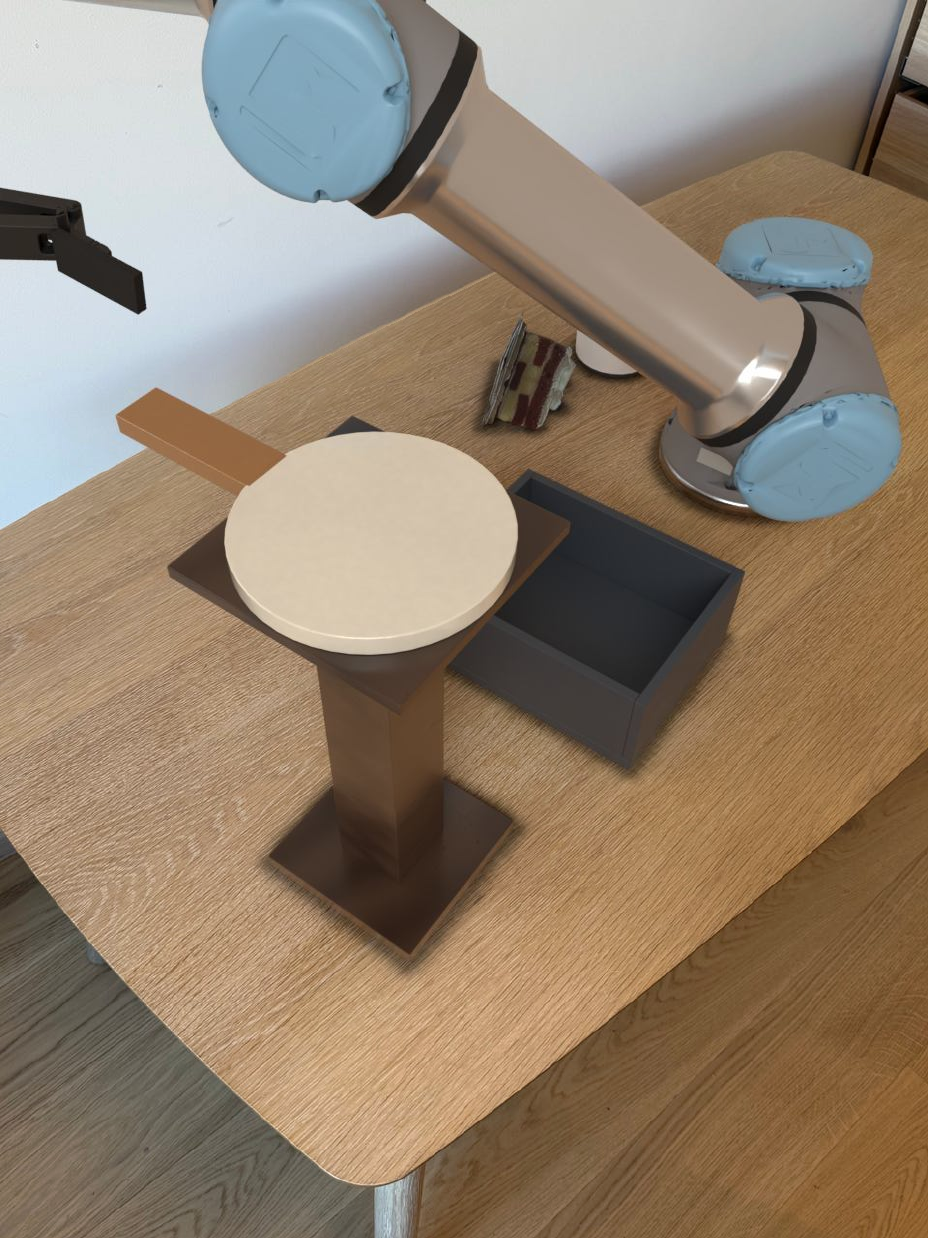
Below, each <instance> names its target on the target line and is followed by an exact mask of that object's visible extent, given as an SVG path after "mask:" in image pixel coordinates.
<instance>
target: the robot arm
mask: <svg viewBox="0 0 928 1238" xmlns="http://www.w3.org/2000/svg"><path fill="white" fill-rule="evenodd" d="M63 1H66V2H73V3H80V4H81V3H82V4H89V5H97V6H106V7H115V8H123V9H130V10H131V9H132V10H140V11H148V12H157V13H165V14H173V15H183V16H190V17H199V18H202V19H204V20H205V21H206V22H207V24H208V27H207V31H206V36H205V38H204V43H203V49H202V56H201V84H202V91H203V95H204V96H203V97H204V101H205V104H206V106H207V110H208V114H209V118H210V120H211V122H212V125H213V127H214V129H215V131H216V134H217V135H218V137H219V139H220V140H221V143H222V144H223V146H224V147H225V148H226V150H227V151H228V152H229V155H231V157H233V159H234V161H236V162H237V163H238V165H240V167H242V169H244V171H245V172H247V173H248V174H249V175H250V176H251V177H252V178H254V179H255V180H256V181H258V182H259V183H260V184H262V185H263V186H265V187H266V188H268V189H269V190H271V191H273V192H275V193H277V194H279V195H281V196H284V197H287V198H289V199H291V200H294V201H299V202H303V203H310V204H316V203H318V202H319V201H330V202H332V203H341V202H345V201H347V202H349V203H350V204H352V205H354V206H355V207H356V208H358V209H359V210H360V211H362V212H363V213H365V214H367V215H368V216H369V217H371V218H373V219H374V220H380V219H384V218H388V217H393V216H397V215H402V214H407V215H408V214H410V215H413V216H414V217H415V218H417V219H418V220H420V221H421V222H422V223H424V224H426V225H427V226H428V227H430V228H431V229H433V230H434V231H436V232H437V233H438V234H440V235H442V236H443V237H444V238H445V239H447V240H448V241H449V242H451V243H453V244H454V245H456V246H457V247H458V248H460V249H461V250H463V251H464V252H466V253H467V254H468V255H470V256H471V257H473V258H474V259H476V260H477V261H478V262H480V263H481V264H483V265H484V266H486V267H487V268H489V269H490V270H491V271H493V272H494V273H496V274H497V275H499V276H500V277H501V278H503V279H504V280H506V281H507V282H509V284H511V285H513V286H514V287H515V288H517V289H519V290H520V291H521V292H523V294H525V295H527V296H529V297H530V298H531V299H533V300H534V301H536V302H537V303H538V304H540V305H541V306H543V307H544V308H546V309H547V310H548V311H550V312H551V313H553V314H554V315H556V316H557V317H559V318H560V319H561V320H563V321H564V322H566V323H567V324H568V325H570V326H571V327H573V328H574V329H576V331H577V330H579V331H580V332H581V333H583V334H584V335H586V336H587V337H589V338H590V339H591V340H593V341H594V342H596V343H597V344H599V345H600V346H601V347H603V348H604V349H606V350H607V351H609V352H610V353H611V354H613V355H614V356H616V357H617V358H619V359H620V360H621V361H623V362H624V363H626V364H627V365H629V366H630V367H631V368H633V369H634V370H636V371H637V372H639V373H640V374H639V375H641V376H643V377H645V378H646V379H647V380H648V381H650V382H652V384H654V385H656V386H657V387H658V388H659V389H661V390H663V391H664V392H666V393H667V394H668V395H670V396H672V398H674V399H676V401H677V402H676V407H675V408H674V409H673V410H672V412H671V414H670V415H669V417H667V419H666V421H665V424H664V426H663V429H662V431H661V435H660V440H659V446H658V459H659V463H660V467H661V469H662V471H663V473H664V474H665V476H666V478H667V479H668V480H669V482H670V483H671V484H672V485H673V486H674V487H675V488H676V489H677V491H679V492H680V493H682V494H683V495H684V496H686V497H687V498H689V499H690V500H692V501H694V502H695V503H697V504H699V505H701V506H704V507H706V508H708V509H711V510H714V511H717V512H721V513H723V514H728V515H731V516H732V515H733V516H740V517H748V518H749V517H753V518H757V517H758V518H760V517H761V518H763V517H765V518H767V519H771V520H773V521H779V522H786V523H787V522H788V523H804V522H807V521H812V520H813V519H821V520H823V519H826V518H830V517H833V516H836V515H839V514H842V513H844V512H846V511H848V510H851V509H853V508H854V507H856V506H858V505H860V504H861V503H863V502H865V501H866V500H868V499H869V498H870V497H872V496H873V495H874V494H875V493H877V492H878V491H879V490H880V489H881V488H882V487H883V486H885V484H886V483H887V481H888V480H889V479H890V477H891V476H892V475H893V473H894V472H895V470H896V468H897V466H898V463H899V458H900V456H901V452H902V447H903V439H902V433H901V429H900V417H899V411H898V407H897V406H896V404H895V403H894V402H893V400H892V396H891V393H890V390H889V388H888V384H887V382H886V378H885V375H884V372H883V369H882V366H881V363H880V361H879V357H878V355H877V352H876V349H875V346H874V343H873V339H872V337H871V334H870V332H869V330H868V326H867V324H866V320H865V318H864V317H865V316H864V314H863V310H862V304H863V297H864V293H865V290H866V288H867V286H868V284H869V283H870V282H871V280H872V278H873V277H872V273H871V272H872V267H873V263H874V255H873V252H872V250H871V248H870V246H869V245H868V244H867V242H866V241H865V240H864V239H862V238H861V237H860V236H859V235H857V234H855V233H853V231H850V230H848V229H846V228H844V227H842V226H839V225H835V224H832V223H830V222H826V221H824V220H823V221H822V220H818V219H813V218H806V217H797V216H771V217H763V218H758V219H754V220H751V221H749V222H746V223H743V224H741V225H739V226H737V227H736V228H734V229H733V230H732V231H730V233H729V234H728V235H727V236H726V239H725V240H724V242H723V246H722V248H721V252H720V256H719V258H718V260H717V261H716V263H715V265H714V264H713V263H712V262H710V261H709V260H708V259H707V258H705V257H703V256H702V255H701V254H700V253H699V252H697V251H696V250H695V249H694V248H693V247H691V246H690V245H688V244H687V243H686V242H684V240H682V239H681V238H680V237H678V236H677V235H676V234H674V233H673V232H672V231H671V230H670V229H668V228H667V227H666V226H665V225H663V224H662V223H660V222H659V221H658V220H657V219H655V218H654V217H653V216H652V215H650V214H649V213H648V212H646V211H645V210H644V209H642V208H641V207H640V206H639V205H638V204H636V203H635V201H632V200H631V199H630V198H629V197H627V196H626V195H625V194H624V193H622V192H621V191H620V190H619V189H618V188H617V187H615V186H613V185H612V184H611V183H609V182H608V181H607V180H606V179H604V177H602V176H601V175H599V173H597V172H596V171H594V170H593V169H592V168H591V167H589V166H588V165H587V164H586V163H584V162H583V161H581V160H580V159H579V158H578V157H576V155H574V154H573V153H571V152H570V151H569V150H568V149H567V148H565V147H564V146H562V145H561V144H560V143H559V142H558V141H556V140H555V139H554V138H552V137H551V136H550V135H548V134H547V133H546V132H545V131H543V130H542V129H541V128H539V127H538V126H537V125H536V124H535V123H533V121H530V120H529V119H528V118H527V117H526V116H525V115H523V114H522V113H520V111H518V110H517V109H516V108H515V107H513V106H512V105H510V104H509V103H508V102H507V101H505V100H504V99H503V98H501V97H500V96H499V95H498V94H496V93H495V92H494V91H492V90H491V89H490V88H489V85H488V82H487V77H486V71H485V65H484V63H485V62H484V57H483V50H482V47H481V46H480V45H479V44H477V42H476V41H474V40H473V39H472V38H471V37H469V36H468V35H467V34H466V33H465V32H463V31H462V30H461V29H460V28H458V26H456V25H454V24H453V23H452V22H451V21H449V19H447V18H446V17H445V16H443V15H442V14H441V13H440V12H438V11H437V10H436V9H434V8H433V7H432V6H431V5H430V4H428V3H427V0H63ZM1 260H2V261H4V260H5V261H45V262H46V261H47V262H48V261H50V262H55V263H56V268H57V272H59V273H61V274H62V275H64V276H66V277H68V278H70V279H72V280H74V281H75V282H77V283H79V284H80V285H82V286H85V287H86V288H88V289H90V290H92V291H94V292H95V293H98V294H99V295H101V296H103V297H104V298H107V299H108V300H111V301H112V302H114V303H116V304H118V305H119V306H121V307H123V308H124V309H127V310H128V311H130V312H132V313H134V314H136V315H137V316H139V315H140V314H142V313H143V312H144V311H146V310H148V309H147V300H146V293H145V283H144V275H143V271H142V270H140V269H138V268H136V267H134V266H132V265H131V264H128V263H126V262H125V261H123V260H121V259H119V258H117V257H115V256H113V252H112V250H111V249H110V247H109V246H108V245H106V244H104V243H102V242H100V241H98V240H96V239H94V238H93V237H91V236H89V235H87V230H86V224H85V217H84V212H83V206H82V202H80V201H78V200H75V199H71V198H64V197H59V196H53V195H47V194H41V193H36V192H29V191H23V190H17V189H10V188H5V187H0V261H1Z"/></svg>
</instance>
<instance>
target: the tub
mask: <svg viewBox="0 0 928 1238" xmlns="http://www.w3.org/2000/svg"><path fill="white" fill-rule="evenodd" d="M505 490H506V491H508V492H510V493H512V494H514V495H516V496H518V497H521V498H523V499H525V500H527V501H529V502H531V503H533V504H535V505H537V506H539V507H541V508H543V509H545V510H547V511H549V512H551V513H553V514H555V515H557V516H560V517H562V518H564V519H566V520H568V521H570V531H569V533H568V535H567V536H566V537H565V538H564V539H563V540H562V541H561V542H560V543H559V544H558V545H557V547H556V548H555V549H554V550H553V551H552V552H551V553H550V554H549V555H548V556H547V557H546V559H545V560H544V561H543V562H542V563H541V564H540V565H539V566H538V567H537V568H536V569H535V571H534V572H533V573H532V574H531V575H530V576H529V577H528V578H527V579H526V580H525V581H524V583H523V584H522V585H521V586H520V587H519V588H518V589H517V590H516V591H515V592H514V593H513V595H512V596H511V597H510V598H509V599H508V600H507V601H506V602H505V603H504V604H503V605H502V606H501V608H500V609H499V610H498V611H497V612H496V613H495V614H494V615H493V616H492V617H491V618H490V620H489V621H488V622H487V623H486V624H485V625H484V626H483V627H482V628H481V629H480V630H479V632H478V633H477V634H476V635H475V636H474V637H473V638H472V639H471V640H470V641H469V642H468V644H467V645H466V646H465V647H464V648H463V649H462V650H461V651H460V652H459V653H458V654H457V656H456V657H455V658H454V659H453V660H452V661H451V662H450V663H449V664H448V665H447V666H446V668H449V669H450V670H452V671H454V672H456V673H457V674H459V675H461V676H463V677H464V678H465V679H468V680H469V681H472V682H473V683H475V684H477V685H479V686H480V687H482V688H483V689H485V690H487V691H489V692H491V693H493V694H494V695H496V696H498V697H500V698H501V699H503V700H505V701H506V702H508V703H510V704H512V705H514V706H516V707H517V708H519V709H520V710H522V711H523V712H525V713H527V714H528V715H531V716H532V717H534V718H536V719H537V720H540V721H542V722H543V723H545V724H546V725H549V726H550V727H552V728H554V729H555V730H557V731H559V732H561V733H562V734H563V735H566V736H568V737H569V738H571V739H572V740H574V741H577V742H578V743H580V744H582V745H584V746H585V747H587V748H588V749H590V750H592V751H594V752H595V753H597V754H599V755H601V756H602V757H604V758H606V759H608V760H610V761H611V762H613V763H615V764H617V765H618V766H620V767H622V768H623V769H625V770H627V771H631V770H632V768H633V766H635V764H636V762H637V761H638V759H640V758H641V756H642V754H643V753H644V751H645V750H646V749H647V747H648V746H649V744H650V743H651V742H652V740H653V739H654V737H655V736H656V735H657V733H658V732H659V731H660V730H661V728H662V726H663V725H664V723H665V722H666V721H667V719H669V716H670V715H671V714H672V712H673V711H674V710H675V708H676V707H677V705H678V704H679V703H680V701H681V700H682V699H683V697H684V696H685V695H686V693H687V692H688V691H689V689H690V687H691V686H692V684H693V683H694V682H695V681H696V679H697V678H698V676H699V675H700V674H701V672H702V671H703V669H704V668H705V666H707V664H708V663H709V661H710V660H711V658H712V657H713V656H714V655H715V653H716V651H717V650H718V649H719V647H720V646H721V644H722V643H723V642H724V640H725V638H726V635H727V632H728V629H729V625H730V623H731V619H732V616H733V612H734V609H735V607H736V603H737V601H738V597H739V594H740V590H741V587H742V584H743V581H744V577H745V575H746V570H743V569H741V568H739V567H736V566H735V565H733V564H731V563H729V562H726V561H724V560H722V559H720V558H719V557H716V556H714V555H712V554H710V553H707V552H705V551H704V550H701V549H700V548H697V547H695V546H692V545H690V544H688V543H687V542H684V541H682V540H680V539H679V538H675V537H674V536H673V535H672V536H671V535H670V534H668V533H666V532H663V531H661V530H659V529H657V528H655V527H653V526H650V525H648V524H647V523H644V522H642V521H641V520H638V519H637V518H633V517H632V516H630V515H627V514H626V513H624V512H622V511H620V510H617V509H615V508H613V507H610V506H608V505H607V504H604V503H603V502H600V501H598V500H596V499H594V498H591V497H589V496H588V495H585V494H583V493H581V492H579V491H577V490H575V489H573V488H571V487H568V486H566V485H564V484H562V483H560V482H558V481H556V480H553V479H552V478H549V477H548V476H545V475H543V474H541V473H539V472H536V471H534V470H533V469H531V468H527V469H526V470H525V471H524V472H523V473H522V474H520V476H519V477H518V478H517V479H516V480H515V481H514V482H512V484H511V485H510V486H509V487H508V488H506V489H505Z"/></svg>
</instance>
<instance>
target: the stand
mask: <svg viewBox="0 0 928 1238" xmlns="http://www.w3.org/2000/svg"><path fill="white" fill-rule="evenodd" d="M358 432H386V431H385V430H383V429H381V428H379V427H377V426H375V425H373V424H371V423H369V422H367V421H365V420H362V419H361V418H358V417H357V416H355V415H350V416H349V417H348V418H347V419H345V420H344V421H343V422H342V423H341V424H339V425H338V426H337V427H336V428H335V429H333V430H332V431H331V432H330V433H329V434H327V435H326V436H325V437H324V438H328V437H333V436H337V435H343V434H350V433H358ZM506 490H507V489H505V491H506ZM506 492H507V494H508V496H509V497H510V499H511V502H512V504H513V507H514V509H515V512H516V518H517V523H518V545H517V555H516V561H515V567H514V569H513V572H512V575H511V578H510V580H509V582H508V584H507V586H506V587H505V589H504V591H503V593H502V594H501V595H500V597H499V598H498V599H497V600H496V602H495V603H494V604H493V605H492V607H490V608H489V609H488V610H487V611H486V612H485V613H484V614H483V615H482V616H481V617H480V618H479V619H477V620H476V621H474V622H473V623H472V624H470V625H469V626H467V627H466V628H464V629H463V630H461V631H459V632H457V633H455V634H454V635H452V636H450V637H448V638H445V639H443V640H440V641H438V642H435V643H433V644H430V645H427V646H423V647H420V648H416V649H413V650H408V651H402V652H397V653H390V654H376V655H359V654H345V653H338V652H330V651H326V650H322V649H318V648H314V647H311V646H308V645H305V644H302V643H300V642H297V641H294V640H292V639H290V638H288V637H286V636H284V635H283V634H281V633H279V632H277V631H275V630H274V629H273V628H271V627H270V626H268V625H267V624H265V623H264V622H263V621H262V620H260V619H259V618H258V617H257V616H256V615H255V614H254V613H253V612H252V611H251V610H250V609H249V608H248V606H247V605H246V604H245V603H244V601H243V600H242V599H241V597H240V595H239V594H238V592H237V590H236V588H235V586H234V584H233V581H232V578H231V575H230V572H229V568H228V563H227V558H226V552H225V545H224V539H225V527H226V523H227V519H228V516H227V517H225V518H224V519H223V520H221V522H219V523H218V524H217V525H215V526H214V527H213V528H212V529H211V530H209V531H208V532H207V533H206V534H205V535H204V536H202V537H201V538H200V539H199V540H197V541H196V542H195V543H193V544H192V545H191V546H190V547H188V548H187V549H186V550H185V551H184V552H182V554H180V555H179V556H177V557H176V558H175V559H174V560H173V561H172V562H171V563H169V564H167V566H166V569H167V572H168V575H169V578H170V579H172V580H174V581H175V582H177V583H179V584H180V585H181V586H183V587H185V588H187V589H189V590H191V591H192V592H194V593H195V594H197V595H198V596H200V597H202V598H203V599H205V600H206V601H209V602H210V603H212V604H213V605H215V606H216V607H218V608H219V609H222V610H223V611H225V612H226V613H228V614H230V615H232V616H234V617H235V618H237V619H238V620H240V621H241V622H243V623H245V624H247V625H248V626H250V627H252V628H253V629H254V630H256V631H258V632H260V633H262V634H263V635H265V636H266V637H268V638H270V639H272V641H275V642H276V643H278V644H280V645H281V646H283V647H285V648H286V649H288V650H290V651H291V652H293V653H295V654H296V655H298V656H300V657H301V658H303V659H305V660H306V661H308V662H309V663H311V664H313V665H314V666H316V671H317V679H318V687H319V693H320V694H319V695H320V700H321V701H320V702H321V707H322V708H321V709H322V715H323V723H324V729H325V736H326V737H325V738H326V743H327V753H328V759H329V764H330V765H329V767H330V773H331V781H332V786H331V788H329V789H328V791H326V793H325V794H324V795H323V796H322V797H321V798H320V799H319V801H317V803H315V805H314V806H313V807H312V808H311V809H310V810H309V811H308V812H307V813H306V814H305V816H304V817H303V818H302V819H301V820H300V821H299V822H298V823H297V824H296V825H295V826H294V828H293V829H291V831H290V832H289V833H288V834H287V835H286V837H284V839H282V841H281V842H280V843H279V844H278V845H277V846H276V847H275V848H274V849H273V850H272V851H271V853H269V855H268V860H269V864H270V866H272V867H273V868H275V869H276V870H278V871H279V872H281V874H283V875H284V876H286V877H288V878H289V879H291V880H292V881H293V882H295V883H296V884H297V885H299V886H300V887H302V889H304V890H306V891H308V892H309V893H311V894H312V895H313V896H314V897H316V898H317V899H319V900H320V901H321V902H323V903H325V904H326V905H327V906H328V907H330V908H331V909H333V910H334V911H336V912H337V913H339V914H340V915H341V916H343V917H344V918H346V919H347V920H349V922H351V923H353V924H355V926H357V927H359V928H360V929H362V930H363V931H365V932H366V933H367V934H369V935H370V936H371V937H372V938H374V939H376V940H377V941H379V942H380V943H381V944H383V945H384V946H386V947H387V948H389V949H390V950H392V951H393V952H394V953H396V954H397V955H399V956H400V957H401V958H403V959H404V960H405V961H407V962H409V963H411V962H412V961H413V959H414V958H415V957H416V956H417V954H418V953H419V952H420V951H421V949H422V948H423V947H424V945H425V944H426V942H427V941H428V940H429V939H430V938H431V936H432V935H433V934H434V932H435V931H436V930H437V928H439V925H440V924H441V923H442V922H443V920H444V919H445V918H446V917H447V915H448V914H449V913H450V912H451V910H452V909H453V907H455V905H456V903H457V902H458V901H459V900H460V898H461V897H462V896H463V894H464V893H465V892H466V891H467V889H468V888H469V887H470V886H471V884H472V883H473V881H474V880H476V878H477V877H478V875H479V874H480V872H481V871H482V870H483V869H484V867H485V866H486V865H487V863H489V861H490V860H491V858H492V857H493V855H494V854H496V852H497V850H498V849H499V848H500V847H501V845H502V844H503V843H504V841H505V840H506V839H507V838H508V836H509V835H510V834H511V832H512V831H513V828H514V820H513V819H511V818H509V816H506V815H505V814H503V813H501V812H500V811H498V810H496V809H495V808H493V807H492V806H490V805H488V804H487V803H485V802H484V801H482V800H481V799H479V798H477V797H476V796H474V795H472V794H471V793H469V792H467V791H466V790H465V789H463V788H461V787H459V786H458V785H456V784H455V783H453V782H451V781H450V780H448V779H446V778H445V777H444V753H445V752H444V750H445V749H444V747H445V746H444V745H445V744H444V740H445V739H444V736H445V732H444V731H445V728H444V727H445V724H444V723H445V721H444V719H445V718H444V717H445V713H444V712H445V669H446V668H447V665H448V664H449V663H450V662H451V661H452V660H453V659H454V658H455V657H456V656H457V654H458V653H459V652H460V651H461V650H462V649H463V648H464V647H465V646H466V645H467V644H468V642H469V641H470V640H471V639H472V638H473V637H474V636H475V635H476V634H477V633H478V632H479V630H480V629H481V628H482V627H483V626H484V625H485V624H486V623H487V622H488V621H489V620H490V618H491V617H492V616H493V615H494V614H495V613H496V612H497V611H498V610H499V609H500V608H501V606H502V605H503V604H504V603H505V602H506V601H507V600H508V599H509V598H510V597H511V596H512V595H513V593H514V592H515V591H516V590H517V589H518V588H519V587H520V586H521V585H522V584H523V583H524V581H525V580H526V579H527V578H528V577H529V576H530V575H531V574H532V573H533V572H534V571H535V569H536V568H537V567H538V566H539V565H540V564H541V563H542V562H543V561H544V560H545V559H546V557H547V556H548V555H549V554H550V553H551V552H552V551H553V550H554V549H555V548H556V547H557V545H558V544H559V543H560V542H561V541H562V540H563V539H564V538H565V537H566V536H567V535H568V533H569V531H570V521H568V520H566V519H564V518H562V517H560V516H557V515H555V514H553V513H551V512H549V511H547V510H545V509H543V508H541V507H539V506H537V505H535V504H533V503H531V502H529V501H527V500H525V499H523V498H521V497H518V496H516V495H514V494H512V493H510V492H508V491H506Z"/></svg>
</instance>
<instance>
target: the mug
mask: <svg viewBox="0 0 928 1238" xmlns="http://www.w3.org/2000/svg"><path fill="white" fill-rule="evenodd" d="M575 338H576V340H575V356H576V358H577V361H578V362H579V364H580V365H581V366H583V368H584V369H586V370H588V371H589V372H590V373H593V374H595V375H598V376H600V377H605V378H610V379H627V378H632V377H635V376H637V375H641V374H640V373H639V372H637V371H636V370H634V369H633V368H631V367H630V366H629V365H627V364H626V363H624V362H623V361H621V360H620V359H619V358H617V357H616V356H614V355H613V354H611V353H610V352H609V351H607V350H606V349H604V348H603V347H601V346H600V345H599V344H597V343H596V342H594V341H593V340H591V339H590V338H589V337H587V336H586V335H584V334H583V333H581V332H580V331H579V330H577V329H576V337H575Z"/></svg>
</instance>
